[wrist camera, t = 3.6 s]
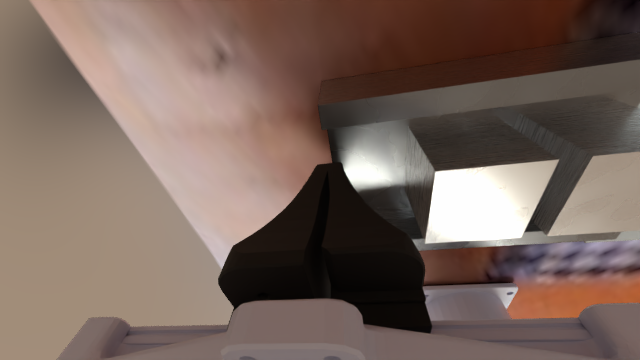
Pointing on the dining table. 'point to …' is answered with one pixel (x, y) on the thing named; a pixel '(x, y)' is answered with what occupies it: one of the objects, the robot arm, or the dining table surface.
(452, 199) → the cream cube
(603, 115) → the beige cube
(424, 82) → the rail
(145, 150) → the dining table surface
